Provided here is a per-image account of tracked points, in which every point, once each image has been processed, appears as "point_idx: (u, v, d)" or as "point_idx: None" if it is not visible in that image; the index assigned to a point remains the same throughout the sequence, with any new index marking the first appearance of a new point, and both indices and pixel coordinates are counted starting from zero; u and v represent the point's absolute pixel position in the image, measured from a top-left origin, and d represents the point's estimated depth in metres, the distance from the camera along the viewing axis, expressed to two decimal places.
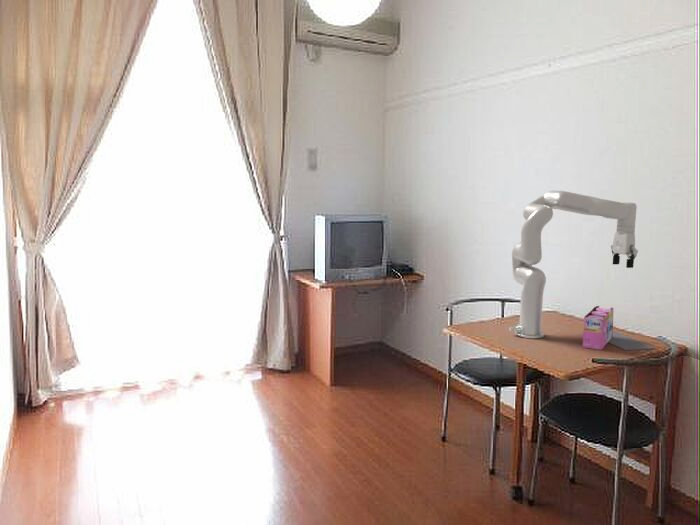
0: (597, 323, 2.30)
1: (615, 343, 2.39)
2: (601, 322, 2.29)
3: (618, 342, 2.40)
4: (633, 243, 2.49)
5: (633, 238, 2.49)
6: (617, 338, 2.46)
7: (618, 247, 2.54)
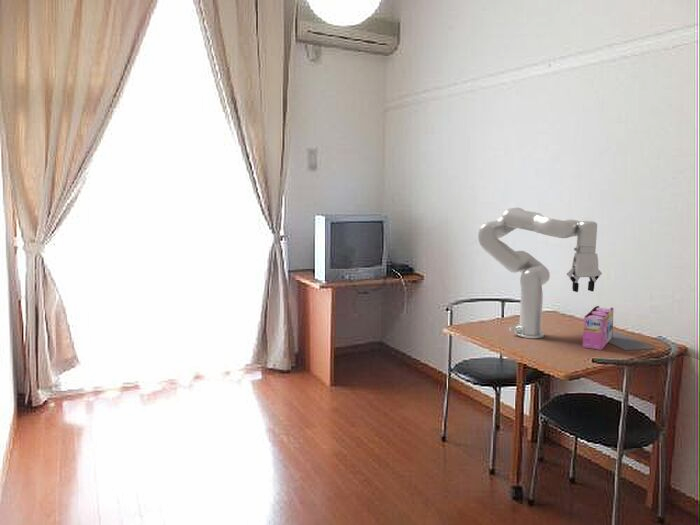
0: (597, 323, 2.30)
1: (615, 343, 2.39)
2: (601, 322, 2.29)
3: (618, 342, 2.40)
4: None
5: None
6: (617, 338, 2.46)
7: (588, 270, 2.32)
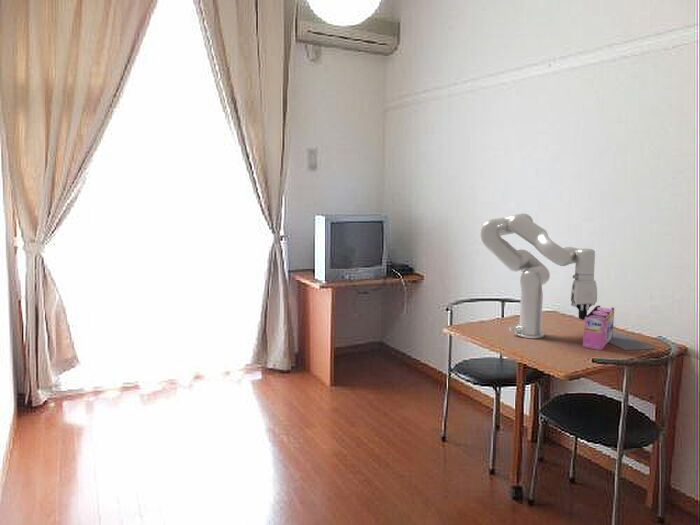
0: (598, 323, 2.29)
1: (615, 343, 2.39)
2: (602, 323, 2.29)
3: (618, 342, 2.40)
4: None
5: None
6: (617, 338, 2.46)
7: (586, 297, 2.34)
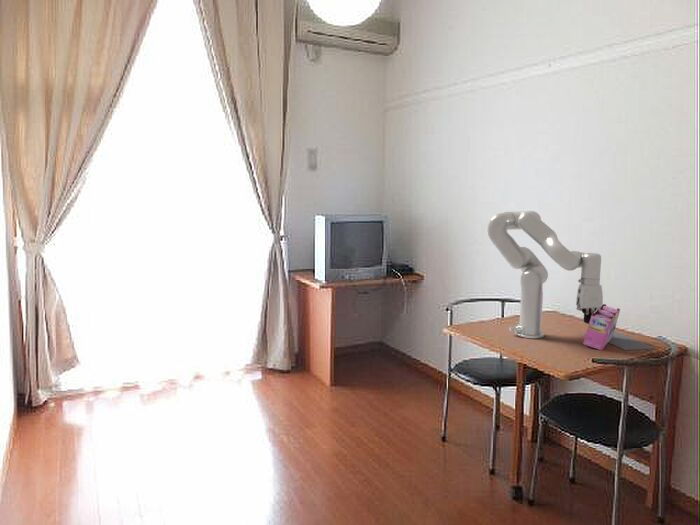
0: (604, 324, 2.28)
1: (615, 343, 2.39)
2: (607, 324, 2.27)
3: (618, 342, 2.40)
4: None
5: None
6: (617, 338, 2.46)
7: (592, 302, 2.35)
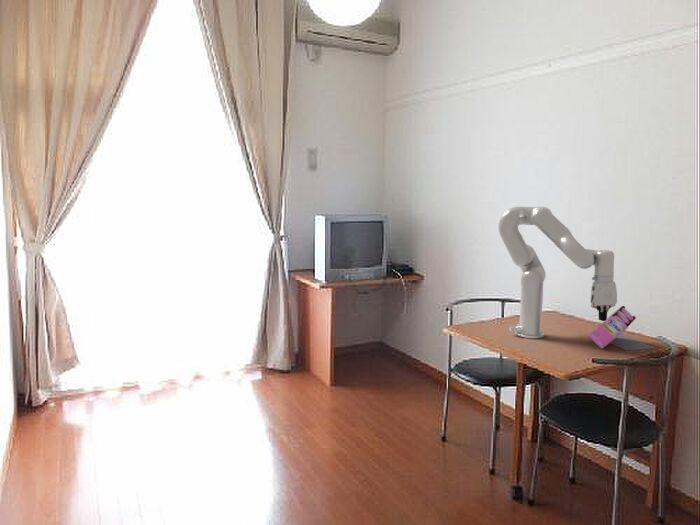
0: (619, 328, 2.25)
1: (615, 343, 2.39)
2: (622, 330, 2.25)
3: (618, 342, 2.40)
4: None
5: None
6: (617, 338, 2.46)
7: (606, 299, 2.35)
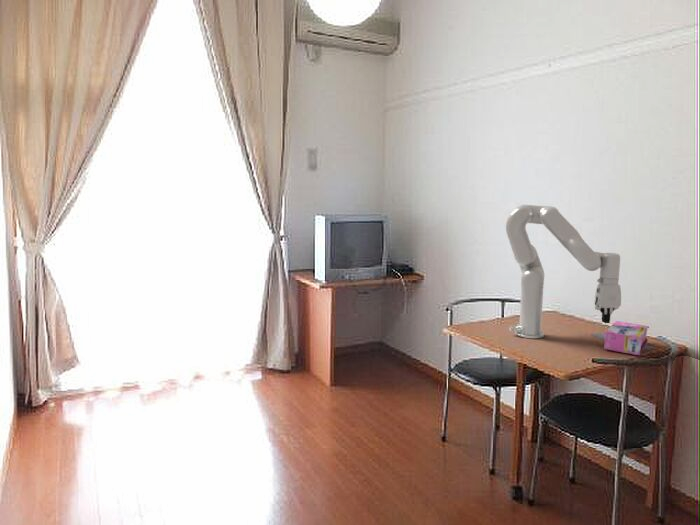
0: (634, 350, 2.23)
1: None
2: (635, 353, 2.23)
3: None
4: None
5: None
6: None
7: (611, 301, 2.36)
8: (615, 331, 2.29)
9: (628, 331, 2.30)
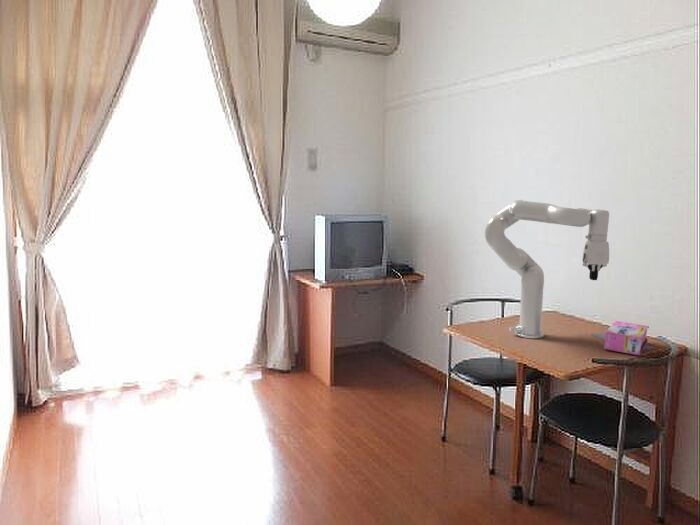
0: (634, 350, 2.23)
1: None
2: (635, 353, 2.23)
3: None
4: None
5: None
6: None
7: (598, 258, 2.36)
8: (615, 331, 2.29)
9: (628, 331, 2.30)
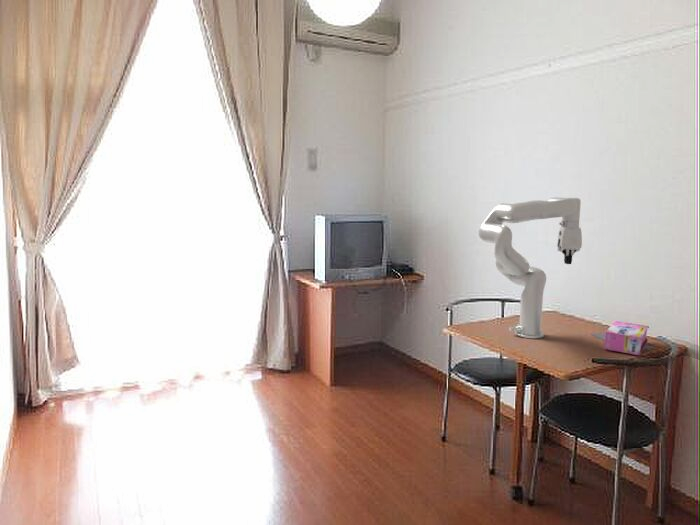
0: (634, 350, 2.23)
1: None
2: (635, 353, 2.23)
3: None
4: None
5: None
6: None
7: (572, 243, 2.52)
8: (615, 331, 2.29)
9: (628, 331, 2.30)
